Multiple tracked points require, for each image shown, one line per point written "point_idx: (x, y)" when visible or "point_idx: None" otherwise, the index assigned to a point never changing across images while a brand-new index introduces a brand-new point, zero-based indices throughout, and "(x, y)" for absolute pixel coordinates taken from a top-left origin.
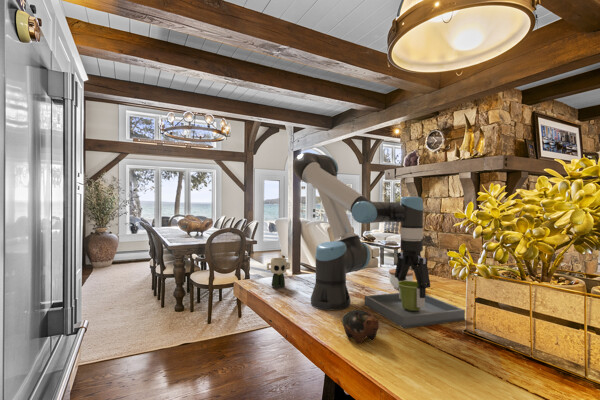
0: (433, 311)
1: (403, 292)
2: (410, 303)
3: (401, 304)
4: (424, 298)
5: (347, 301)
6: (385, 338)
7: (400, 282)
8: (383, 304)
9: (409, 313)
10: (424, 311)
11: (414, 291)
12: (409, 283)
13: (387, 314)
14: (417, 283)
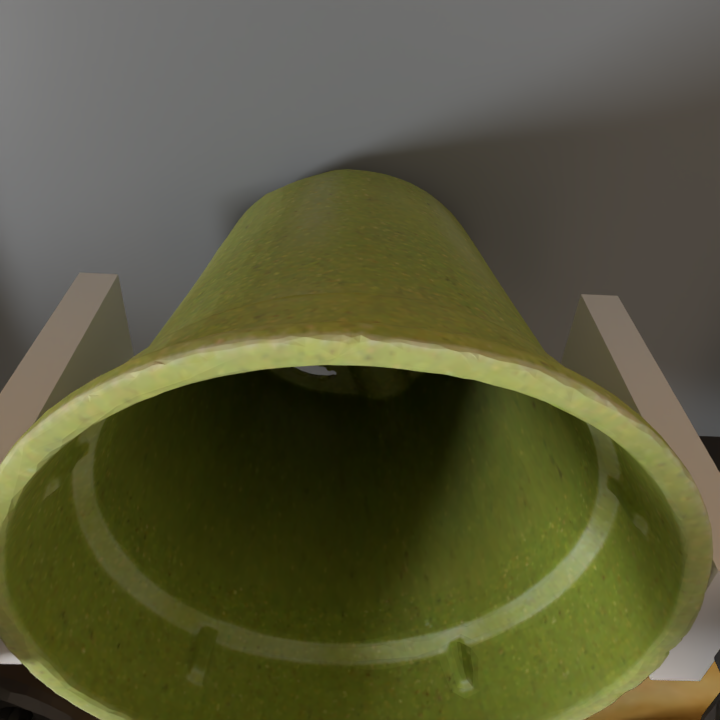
0: (584, 4)
1: (370, 612)
2: (454, 437)
3: (104, 264)
4: (666, 387)
5: (62, 715)
6: (697, 691)
7: (84, 671)
8: None
9: None
10: (502, 158)
11: (570, 603)
12: (52, 470)
13: None
14: (195, 371)
